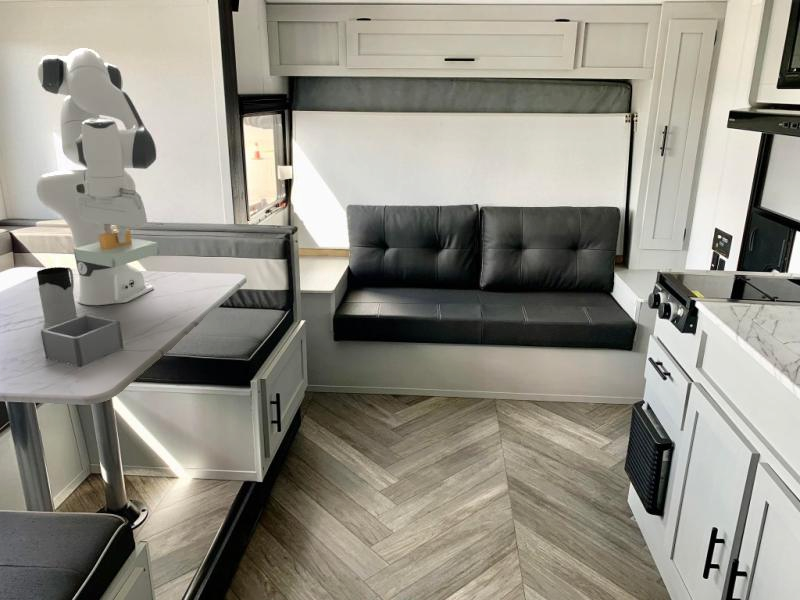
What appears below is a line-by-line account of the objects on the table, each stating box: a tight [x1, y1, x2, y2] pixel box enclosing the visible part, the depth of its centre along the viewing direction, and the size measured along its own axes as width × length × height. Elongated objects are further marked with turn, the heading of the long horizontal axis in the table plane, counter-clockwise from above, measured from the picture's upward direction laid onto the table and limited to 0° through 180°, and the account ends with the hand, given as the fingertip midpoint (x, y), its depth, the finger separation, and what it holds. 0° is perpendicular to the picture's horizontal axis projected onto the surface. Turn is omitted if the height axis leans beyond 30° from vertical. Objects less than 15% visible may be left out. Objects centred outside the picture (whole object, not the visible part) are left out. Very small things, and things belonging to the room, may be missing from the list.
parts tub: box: [40, 314, 124, 368], centre depth 152 cm, size 13×12×7 cm
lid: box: [73, 228, 160, 267], centre depth 159 cm, size 14×13×6 cm
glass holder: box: [36, 266, 79, 329], centre depth 172 cm, size 9×14×15 cm, turn 2°
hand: (115, 241), depth 159 cm, fingers closed on lid
